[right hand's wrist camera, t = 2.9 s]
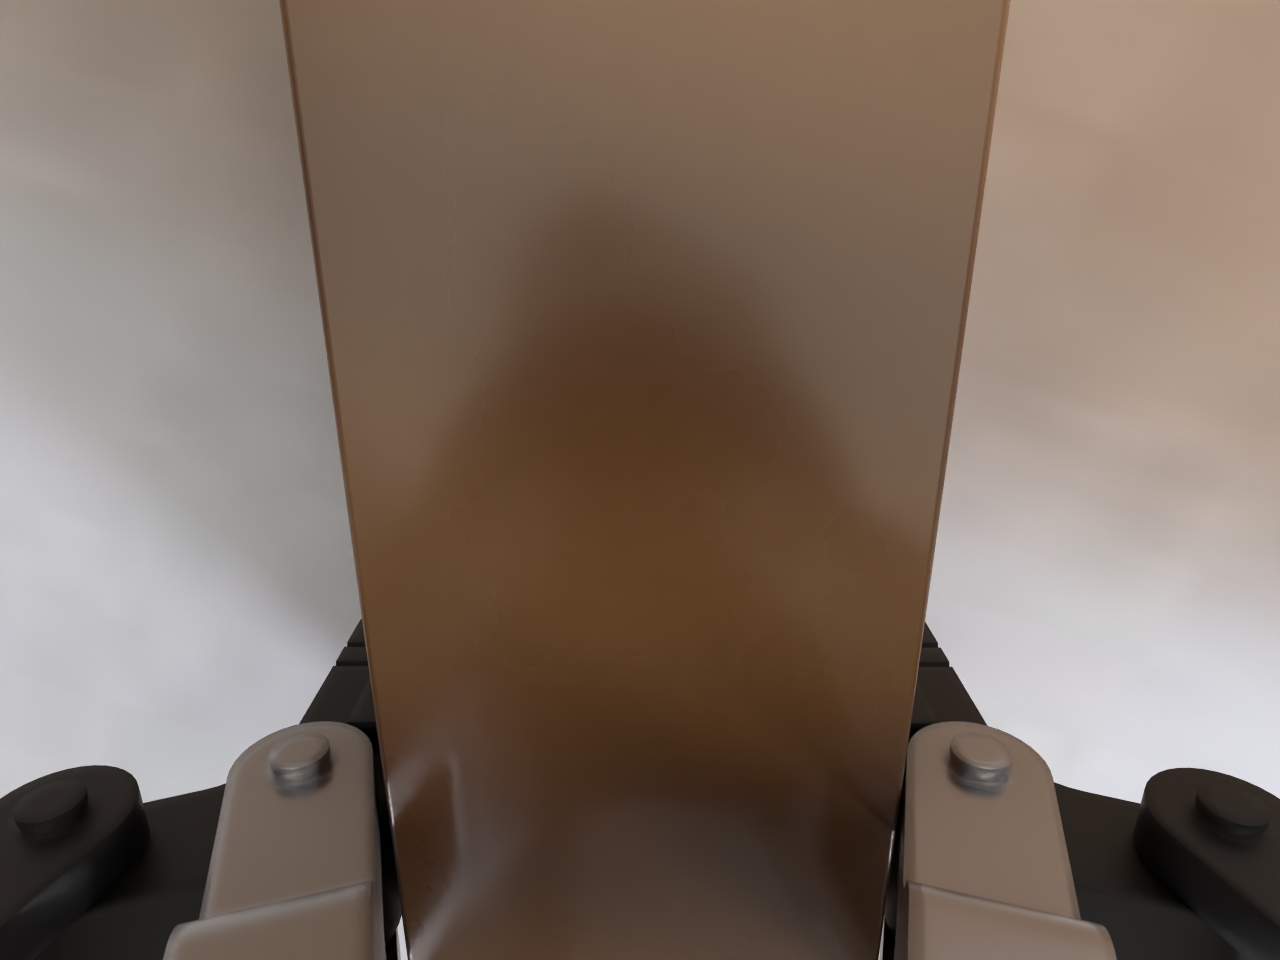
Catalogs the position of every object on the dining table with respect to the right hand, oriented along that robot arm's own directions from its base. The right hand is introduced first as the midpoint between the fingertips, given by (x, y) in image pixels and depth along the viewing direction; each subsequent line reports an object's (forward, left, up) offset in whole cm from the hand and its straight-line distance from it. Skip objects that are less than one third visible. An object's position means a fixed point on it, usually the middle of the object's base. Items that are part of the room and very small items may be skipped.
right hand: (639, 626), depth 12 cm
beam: (+18, +13, -3) cm, 22 cm away
